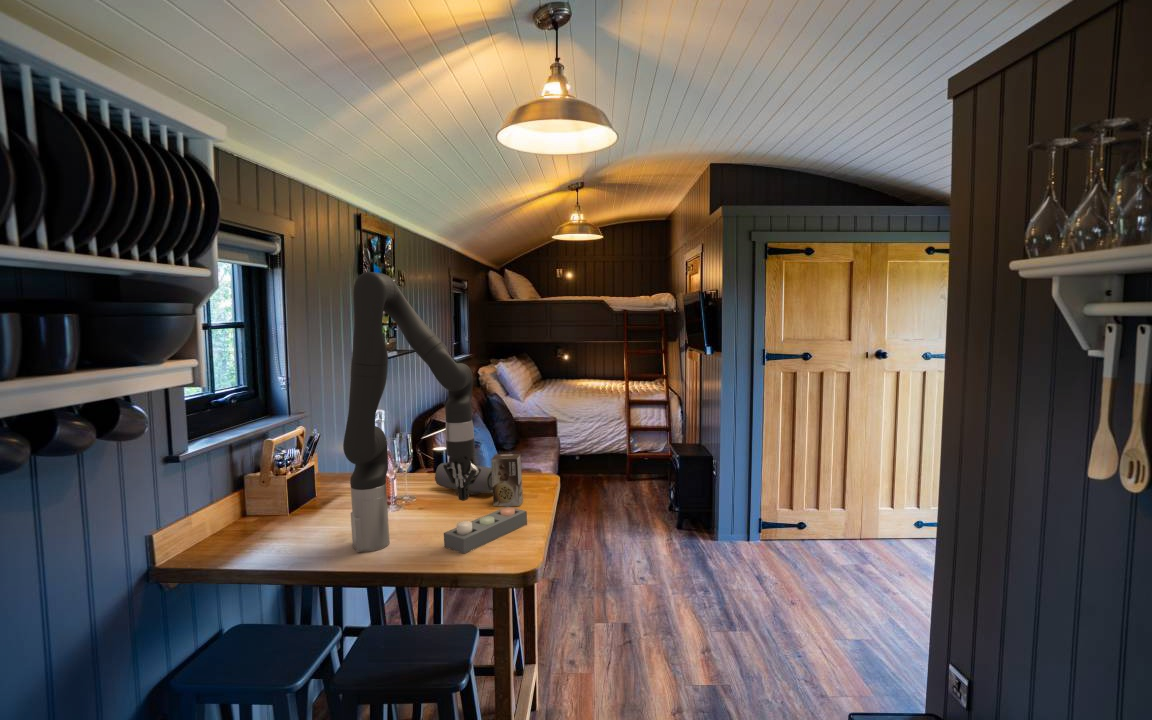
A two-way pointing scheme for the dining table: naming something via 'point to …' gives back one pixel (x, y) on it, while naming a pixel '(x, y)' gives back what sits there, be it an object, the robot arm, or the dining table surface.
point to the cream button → (464, 528)
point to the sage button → (487, 520)
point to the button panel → (485, 531)
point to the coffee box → (507, 480)
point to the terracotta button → (507, 511)
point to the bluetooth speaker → (480, 485)
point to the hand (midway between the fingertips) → (463, 499)
